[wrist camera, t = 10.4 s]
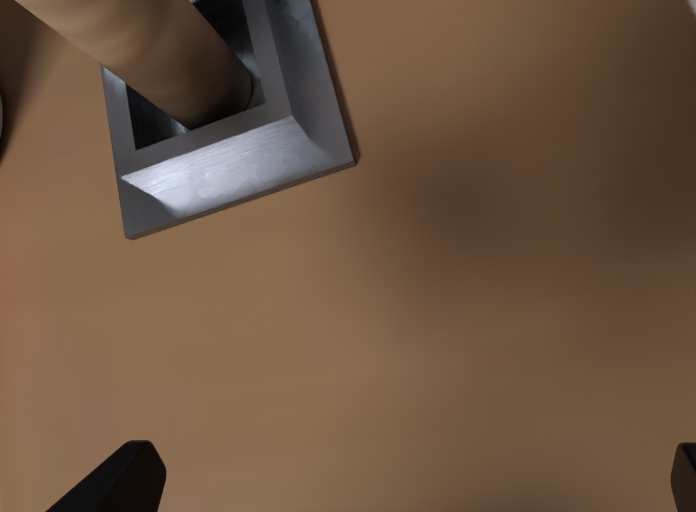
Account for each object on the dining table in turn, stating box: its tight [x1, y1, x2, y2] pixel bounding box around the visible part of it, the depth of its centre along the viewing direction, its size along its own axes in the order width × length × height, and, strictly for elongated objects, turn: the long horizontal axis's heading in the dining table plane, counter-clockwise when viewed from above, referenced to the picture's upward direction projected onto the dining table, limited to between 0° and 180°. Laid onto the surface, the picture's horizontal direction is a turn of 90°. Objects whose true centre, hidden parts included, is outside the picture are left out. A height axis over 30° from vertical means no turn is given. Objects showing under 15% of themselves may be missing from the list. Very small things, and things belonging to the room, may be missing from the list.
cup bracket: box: [100, 0, 356, 240], centre depth 24 cm, size 12×12×9 cm
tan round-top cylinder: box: [15, 0, 251, 131], centre depth 21 cm, size 5×5×14 cm
